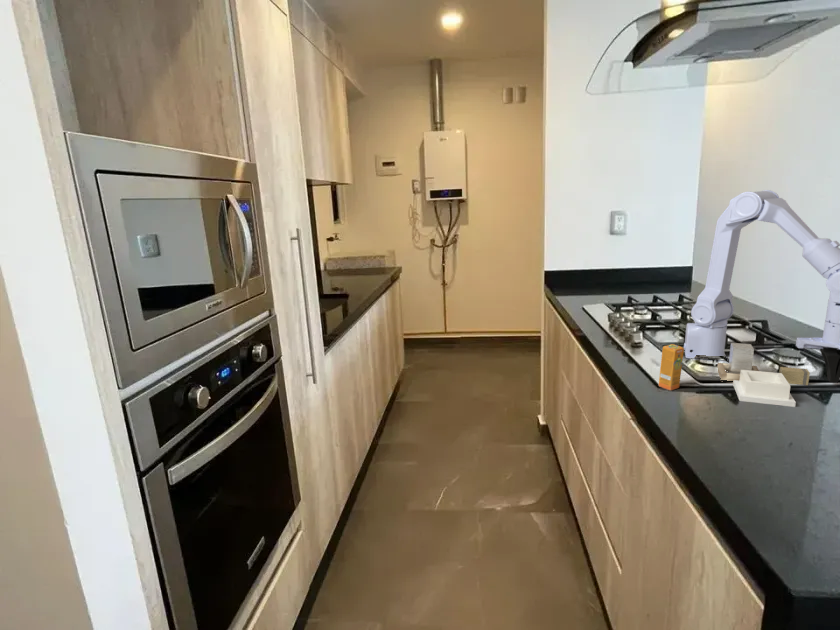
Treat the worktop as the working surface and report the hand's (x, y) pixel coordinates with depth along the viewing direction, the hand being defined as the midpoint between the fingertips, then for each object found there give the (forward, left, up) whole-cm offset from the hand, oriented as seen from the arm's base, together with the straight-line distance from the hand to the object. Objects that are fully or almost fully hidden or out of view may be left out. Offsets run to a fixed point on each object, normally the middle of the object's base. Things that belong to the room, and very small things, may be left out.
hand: (832, 380), depth 107 cm
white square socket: (-14, -10, -1) cm, 18 cm away
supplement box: (-32, -11, -2) cm, 34 cm away
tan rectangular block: (-7, 0, -1) cm, 7 cm away
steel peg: (-18, 0, -1) cm, 18 cm away
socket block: (-17, 0, -1) cm, 18 cm away
